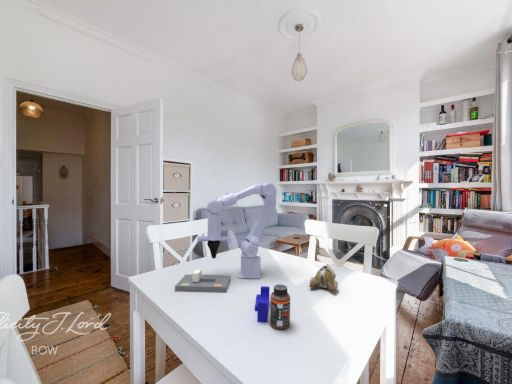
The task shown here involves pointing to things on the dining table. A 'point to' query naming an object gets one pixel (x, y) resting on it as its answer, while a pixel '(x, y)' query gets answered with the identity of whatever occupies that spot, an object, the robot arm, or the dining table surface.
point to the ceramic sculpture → (324, 278)
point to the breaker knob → (197, 275)
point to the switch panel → (204, 284)
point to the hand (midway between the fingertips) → (214, 257)
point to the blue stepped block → (262, 304)
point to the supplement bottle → (280, 307)
